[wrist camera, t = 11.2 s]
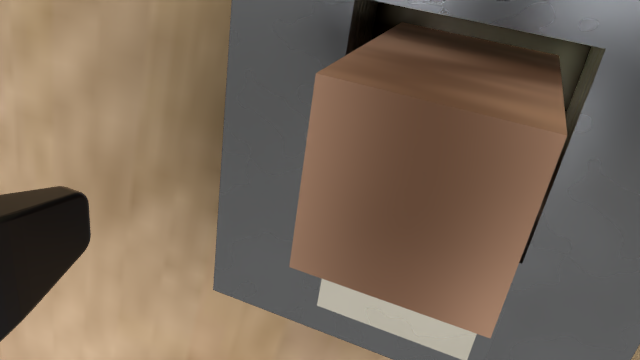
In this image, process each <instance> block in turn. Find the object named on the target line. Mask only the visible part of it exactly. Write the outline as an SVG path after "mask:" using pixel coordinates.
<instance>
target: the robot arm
mask: <svg viewBox="0 0 640 360" xmlns="http://www.w3.org/2000/svg"><path fill="white" fill-rule="evenodd" d="M90 235H91V234H90V218H89V203H88V199H87V197H86V196H85V195H84V194H83V193H81V192H79V191H76V190H73V189H70V188H68V187H63V186H58V187H51V188H44V189H37V190H31V191H24V192H17V193H10V194H3V195H0V341H1V340H3V339H4V338H5V337H6V336H7V335H8V334H9V333H10V332H11V331H12V330H13V329H14V328H15V327H16V326H17V325H18V324H19V323H20V322H21V321H22V320H23V319H24V318H25V317H26V316H27V315H28V314H29V313H30V312H31V311H32V310H33V309H34V307H35V306H36V305H37V304H38V303H39V302H40V301H41V300H42V298H43V297H44V296H45V295H46V294H47V293H48V292H49V291H50V289H51V288H52V287H53V286H54V285H55V284H56V283H57V282H58V280H59V279H60V278H61V277H62V276H63V275H64V274H65V273H66V271H67V270H68V269H69V268H70V267H71V266H72V265H73V264H74V263H75V261H76V260H77V259H78V258H79V257H80V256H81V255H82V254H83V252H84V251H85V250H86V248H87V246H88V244H89V242H90Z"/></svg>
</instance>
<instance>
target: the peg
mask: <svg viewBox="0 0 640 360" xmlns="http://www.w3.org/2000/svg"><path fill="white" fill-rule="evenodd" d="M566 138H567V127H566V117H565V108H564V98H563V88H562V78H561V69H560V59H559V55H555V54H550V53H545V52H541V51H536V50H531V49H526V48H522V47H517V46H512V45H507V44H503V43H498V42H493V41H488V40H484V39H479V38H474V37H469V36H465V35H460V34H455V33H450V32H446V31H441V30H436V29H431V28H427V27H422V26H417V25H412V24H408V23H403V22H401V23H400V24H398V25H396V26H395V27H393V28H391V29H390V30H388V31H386V32H384V33H383V34H381V35H379V36H378V37H376V38H374V39H373V40H371V41H369V42H368V43H366V44H364V45H363V46H361V47H359V48H358V49H356V50H354V51H352V52H351V53H349V54H347V55H346V56H344V57H342V58H341V59H339V60H337V61H336V62H334V63H332V64H331V65H329V66H327V67H326V68H324V69H322V70H320V71H319V72H317V73H316V76H315V83H314V90H313V98H312V105H311V112H310V119H309V127H308V134H307V141H306V149H305V156H304V163H303V170H302V178H301V185H300V192H299V200H298V207H297V214H296V221H295V229H294V236H293V243H292V251H291V258H290V265H289V267H291V268H293V269H296V270H299V271H302V272H305V273H307V274H310V275H313V276H316V277H319V278H321V279H324V280H327V281H330V282H333V283H336V284H338V285H341V286H344V287H347V288H350V289H352V290H355V291H358V292H361V293H364V294H366V295H369V296H372V297H375V298H378V299H381V300H383V301H386V302H389V303H392V304H395V305H397V306H400V307H403V308H406V309H409V310H411V311H414V312H417V313H420V314H423V315H426V316H428V317H431V318H434V319H437V320H440V321H442V322H445V323H448V324H451V325H454V326H456V327H459V328H462V329H465V330H468V331H471V332H473V333H476V334H479V335H482V336H485V337H487V338H491V336H492V333H493V330H494V328H495V325H496V322H497V320H498V317H499V315H500V312H501V309H502V307H503V304H504V301H505V299H506V296H507V293H508V291H509V288H510V286H511V283H512V280H513V278H514V275H515V272H516V270H517V267H518V264H519V262H520V259H521V257H522V254H523V251H524V249H525V246H526V243H527V241H528V238H529V235H530V233H531V230H532V228H533V225H534V222H535V220H536V217H537V214H538V212H539V209H540V206H541V204H542V201H543V198H544V196H545V193H546V191H547V188H548V185H549V183H550V180H551V177H552V175H553V172H554V169H555V167H556V164H557V162H558V159H559V156H560V154H561V151H562V148H563V146H564V143H565V140H566Z"/></svg>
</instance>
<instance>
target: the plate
mask: <svg viewBox="0 0 640 360" xmlns="http://www.w3.org/2000/svg"><path fill="white" fill-rule="evenodd" d="M378 2H383V3H388V4H393V5H398V6H402V7H407V8H412V9H417V10H422V11H426V12H431V13H436V14H441V15H446V16H450V17H455V18H460V19H465V20H470V21H475V22H479V23H484V24H489V25H494V26H499V27H503V28H508V29H513V30H518V31H523V32H527V33H532V34H537V35H542V36H547V37H551V38H556V39H561V40H566V41H571V42H576V43H580V44H585V45H590V46H591V49H590V52H589V54H588V57H587V60H586V62H585V65H584V68H583V70H582V73H581V76H580V78H579V81H578V84H577V86H576V89H575V92H574V94H573V97H572V100H571V102H570V105H569V108H568V110H567V113H566V116H565V117H566V127H567V138H566V140H565V143H564V146H563V148H562V151H561V154H560V156H559V159H558V162H557V164H556V167H555V169H554V172H553V175H552V177H551V180H550V183H549V185H548V188H547V191H546V193H545V196H544V198H543V201H542V204H541V206H540V209H539V212H538V214H537V217H536V220H535V222H534V225H533V228H532V230H531V233H530V235H529V238H528V241H527V243H526V246H525V249H524V251H523V254H522V257H521V259H520V262H519V264H518V267H517V270H516V272H515V275H514V278H513V280H512V283H511V286H510V288H509V291H508V293H507V296H506V299H505V301H504V304H503V307H502V309H501V312H500V315H499V317H498V320H497V322H496V325H495V328H494V330H493V333H492V336H491V338H487V337H485V336H482V335H479V334H476V333H473V332H471V331H468V330H465V329H462V328H459V327H456V326H454V325H451V324H448V323H445V322H442V321H440V320H437V319H434V318H431V317H428V316H426V315H423V314H420V313H417V312H414V311H411V310H409V309H406V308H403V307H400V306H397V305H395V304H392V303H389V302H386V301H383V300H381V299H378V298H375V297H372V296H369V295H366V294H364V293H361V292H358V291H355V290H352V289H350V288H347V287H344V286H341V285H338V284H336V283H333V282H330V281H327V280H324V279H321V278H319V277H316V276H313V275H310V274H307V273H305V272H302V271H299V270H296V269H293V268H291V267H289V265H290V258H291V251H292V243H293V236H294V229H295V221H296V214H297V207H298V200H299V192H300V185H301V178H302V170H303V163H304V156H305V149H306V141H307V134H308V127H309V119H310V112H311V105H312V98H313V90H314V83H315V76H316V73H317V72H319V71H320V70H322V69H324V68H326V67H327V66H329V65H331V64H332V63H334V62H336V61H337V60H339V59H341V58H342V57H344V56H346V55H347V54H349V53H351V52H352V51H354V50H356V49H358V48H359V47H361V46H363V45H364V44H366V43H368V42H369V41H371V39H372V34H373V28H374V23H375V18H376V12H377V7H378ZM213 290H215V291H218V292H220V293H223V294H225V295H228V296H231V297H233V298H236V299H238V300H241V301H243V302H246V303H249V304H251V305H254V306H256V307H259V308H262V309H264V310H267V311H269V312H272V313H275V314H277V315H280V316H282V317H285V318H287V319H290V320H293V321H295V322H298V323H300V324H303V325H306V326H308V327H311V328H313V329H316V330H318V331H321V332H324V333H326V334H329V335H331V336H334V337H337V338H339V339H342V340H344V341H347V342H349V343H352V344H355V345H357V346H360V347H362V348H365V349H368V350H370V351H373V352H375V353H378V354H380V355H383V356H386V357H388V358H391V359H393V360H631V359H632V357H633V355H634V353H635V351H636V350H637V348H638V346H639V344H640V0H232V6H231V21H230V37H229V52H228V68H227V84H226V99H225V115H224V130H223V146H222V162H221V177H220V193H219V208H218V224H217V240H216V255H215V271H214V286H213Z"/></svg>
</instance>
